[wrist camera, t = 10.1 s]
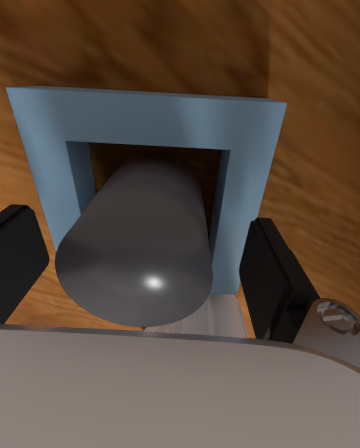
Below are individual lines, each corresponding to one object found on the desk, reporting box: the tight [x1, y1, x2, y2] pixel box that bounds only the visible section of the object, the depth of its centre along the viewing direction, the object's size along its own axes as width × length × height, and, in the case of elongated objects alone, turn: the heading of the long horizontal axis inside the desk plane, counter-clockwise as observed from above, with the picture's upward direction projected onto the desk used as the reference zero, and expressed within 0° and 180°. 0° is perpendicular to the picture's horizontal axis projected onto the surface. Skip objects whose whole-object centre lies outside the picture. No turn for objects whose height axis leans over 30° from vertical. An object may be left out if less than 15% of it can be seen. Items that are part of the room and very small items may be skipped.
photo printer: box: [144, 293, 248, 338], centre depth 15 cm, size 10×4×12 cm, turn 143°
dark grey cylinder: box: [55, 149, 213, 327], centre depth 11 cm, size 6×6×7 cm
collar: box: [6, 86, 287, 295], centre depth 13 cm, size 11×11×2 cm
